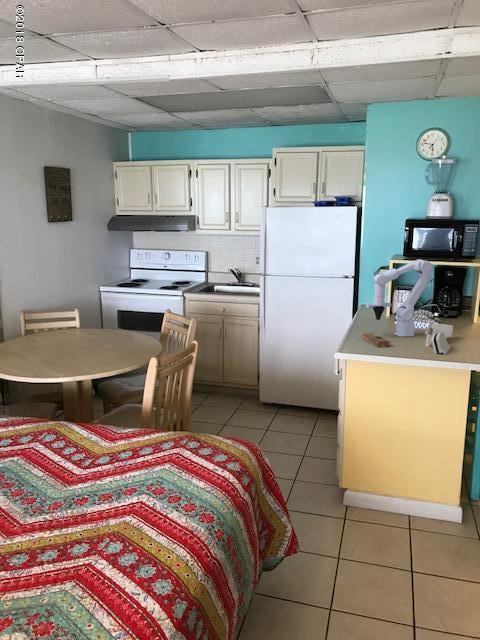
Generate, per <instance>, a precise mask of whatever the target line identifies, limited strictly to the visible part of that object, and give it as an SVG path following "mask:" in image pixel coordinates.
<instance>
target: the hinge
mask: <svg viewBox="0 0 480 640" xmlns="http://www.w3.org/2000/svg"><path fill="white" fill-rule="evenodd" d="M431 345H432V350H433V353H436V354H438V353H439V354H442V353H443V355H444V354H445V355H447V354H448V352H449V351H450V350H449V349H451V348H452V346H451V344H450V343H448V341H447V339H446V337H445V334H444V333H436V334H434V335H433V336H432V340H431ZM436 354H435V355H436Z"/></svg>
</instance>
